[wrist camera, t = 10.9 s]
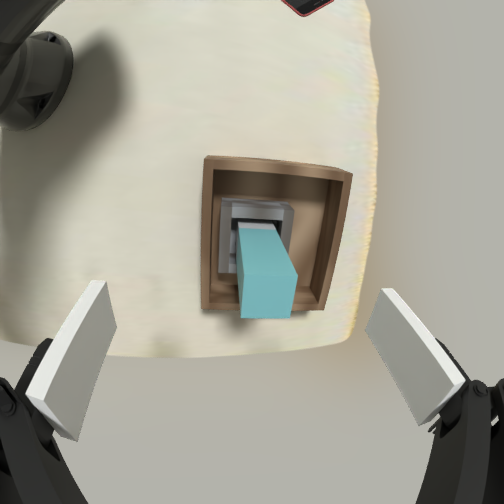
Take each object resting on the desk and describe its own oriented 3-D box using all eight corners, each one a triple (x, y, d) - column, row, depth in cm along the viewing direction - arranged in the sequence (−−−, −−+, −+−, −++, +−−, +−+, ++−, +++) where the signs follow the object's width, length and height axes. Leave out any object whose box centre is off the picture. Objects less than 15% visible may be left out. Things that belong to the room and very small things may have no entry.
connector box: (203, 287, 38) (201, 308, 33) (207, 155, 30) (203, 159, 26) (313, 290, 40) (323, 310, 35) (336, 167, 32) (352, 173, 28)
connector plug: (235, 247, 34) (240, 317, 21) (237, 216, 32) (244, 274, 20) (267, 248, 34) (289, 318, 22) (270, 218, 33) (297, 275, 20)
